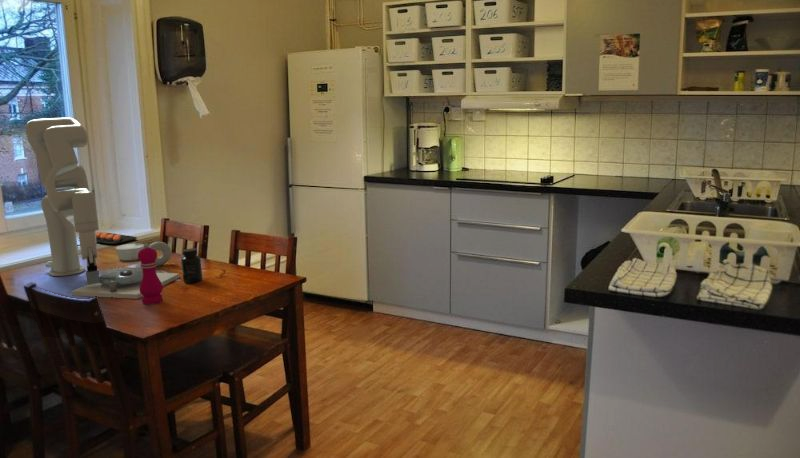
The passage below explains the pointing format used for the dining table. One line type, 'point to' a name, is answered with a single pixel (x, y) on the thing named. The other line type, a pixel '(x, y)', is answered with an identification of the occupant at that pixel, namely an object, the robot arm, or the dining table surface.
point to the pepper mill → (149, 276)
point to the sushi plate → (112, 238)
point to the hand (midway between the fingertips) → (93, 276)
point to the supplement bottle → (191, 266)
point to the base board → (120, 288)
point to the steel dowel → (112, 286)
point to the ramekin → (129, 251)
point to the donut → (165, 252)
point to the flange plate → (115, 276)
